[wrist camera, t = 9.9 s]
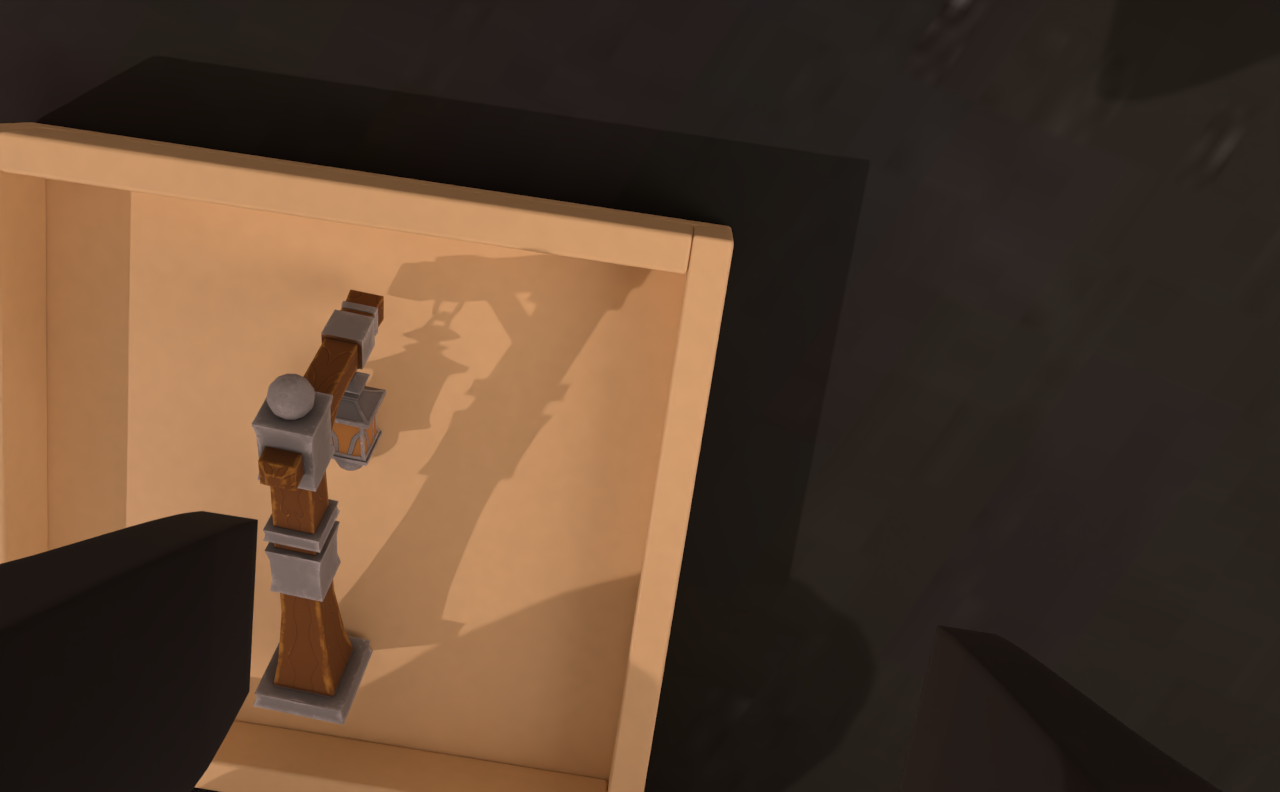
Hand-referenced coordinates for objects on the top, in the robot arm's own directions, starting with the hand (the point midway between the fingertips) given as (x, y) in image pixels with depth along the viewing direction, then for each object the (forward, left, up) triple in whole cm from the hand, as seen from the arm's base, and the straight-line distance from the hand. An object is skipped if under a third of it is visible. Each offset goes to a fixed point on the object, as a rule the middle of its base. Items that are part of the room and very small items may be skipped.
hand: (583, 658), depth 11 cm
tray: (+6, +3, -10) cm, 12 cm away
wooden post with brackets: (+6, +3, -10) cm, 12 cm away
